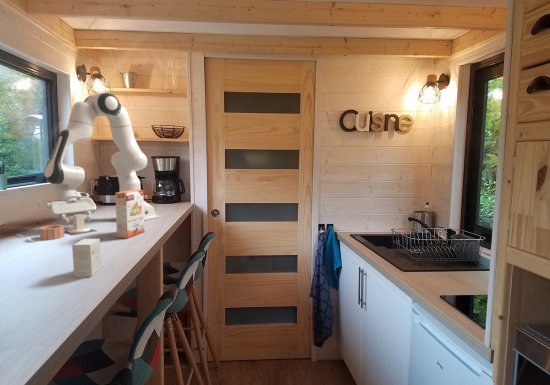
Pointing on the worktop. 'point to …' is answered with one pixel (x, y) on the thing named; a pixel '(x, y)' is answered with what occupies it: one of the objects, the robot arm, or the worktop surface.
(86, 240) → the small box
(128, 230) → the cracker box
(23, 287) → the worktop surface
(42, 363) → the worktop surface
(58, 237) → the bowl
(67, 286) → the worktop surface
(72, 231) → the lid
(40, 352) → the worktop surface
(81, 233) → the rubber mat
